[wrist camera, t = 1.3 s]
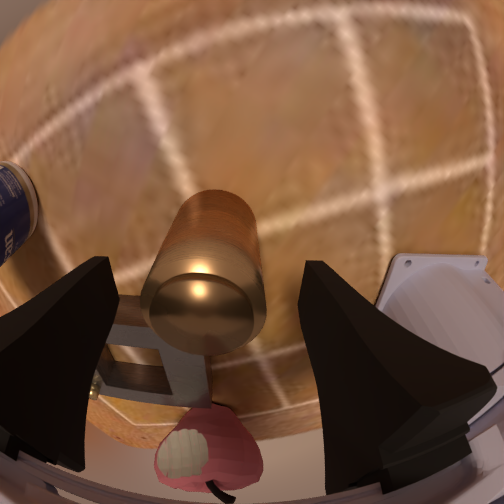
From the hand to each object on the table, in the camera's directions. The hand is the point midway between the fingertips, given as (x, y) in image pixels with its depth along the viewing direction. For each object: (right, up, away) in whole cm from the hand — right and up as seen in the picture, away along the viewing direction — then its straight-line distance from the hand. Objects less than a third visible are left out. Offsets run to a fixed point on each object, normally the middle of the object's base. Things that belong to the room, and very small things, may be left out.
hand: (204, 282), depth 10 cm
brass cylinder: (0, +2, +4) cm, 4 cm away
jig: (-7, -5, +8) cm, 12 cm away
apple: (-2, -14, +14) cm, 20 cm away
